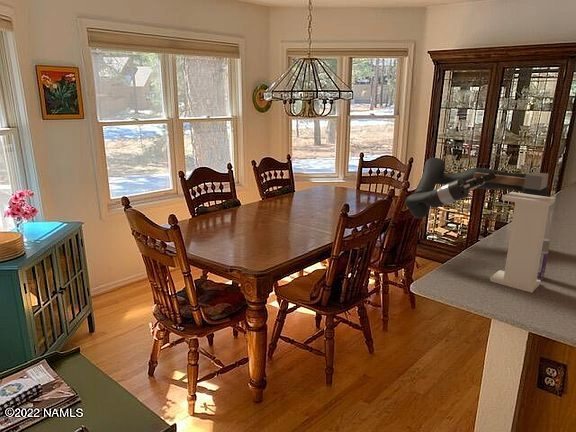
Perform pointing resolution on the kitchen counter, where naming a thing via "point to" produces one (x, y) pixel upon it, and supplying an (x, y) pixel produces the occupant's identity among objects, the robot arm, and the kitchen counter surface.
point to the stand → (524, 241)
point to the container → (543, 259)
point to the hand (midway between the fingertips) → (496, 174)
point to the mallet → (520, 180)
